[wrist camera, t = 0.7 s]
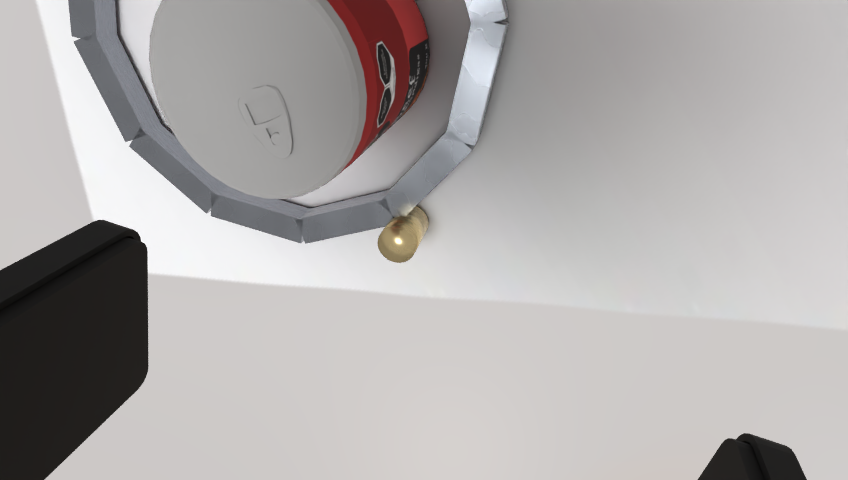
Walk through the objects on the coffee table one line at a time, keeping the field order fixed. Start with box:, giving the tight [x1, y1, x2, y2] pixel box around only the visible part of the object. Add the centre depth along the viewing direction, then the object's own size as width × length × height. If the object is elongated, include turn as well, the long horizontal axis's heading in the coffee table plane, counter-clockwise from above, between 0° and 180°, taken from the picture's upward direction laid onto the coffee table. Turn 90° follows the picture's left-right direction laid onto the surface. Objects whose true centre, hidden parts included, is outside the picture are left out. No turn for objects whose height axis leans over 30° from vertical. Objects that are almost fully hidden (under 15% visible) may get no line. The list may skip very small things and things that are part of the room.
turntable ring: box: [68, 0, 509, 263], centre depth 27 cm, size 22×22×3 cm
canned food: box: [149, 0, 430, 199], centre depth 24 cm, size 8×8×11 cm
